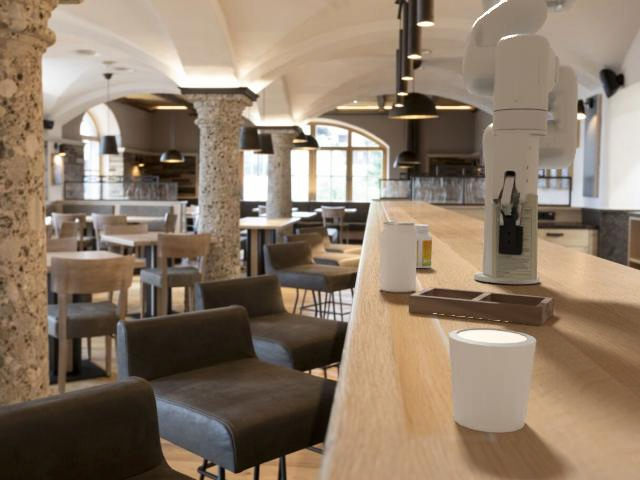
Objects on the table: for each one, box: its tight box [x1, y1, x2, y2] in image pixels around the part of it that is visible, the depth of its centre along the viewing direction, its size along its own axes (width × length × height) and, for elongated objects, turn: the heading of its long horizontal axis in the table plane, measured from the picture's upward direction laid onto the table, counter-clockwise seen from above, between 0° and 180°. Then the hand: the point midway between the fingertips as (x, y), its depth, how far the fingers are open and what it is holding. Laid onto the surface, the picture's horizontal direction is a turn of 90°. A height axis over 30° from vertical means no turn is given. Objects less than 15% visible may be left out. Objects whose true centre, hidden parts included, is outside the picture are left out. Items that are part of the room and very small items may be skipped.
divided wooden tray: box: [408, 286, 555, 326], centre depth 105 cm, size 10×19×2 cm, turn 63°
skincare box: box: [492, 193, 539, 280], centre depth 102 cm, size 6×4×12 cm
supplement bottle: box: [415, 223, 433, 269], centre depth 160 cm, size 5×5×10 cm
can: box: [378, 221, 417, 294], centre depth 125 cm, size 6×6×12 cm
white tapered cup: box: [448, 327, 537, 434], centre depth 57 cm, size 7×7×7 cm
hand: (514, 251), depth 102 cm, fingers closed on skincare box, 4 cm apart
